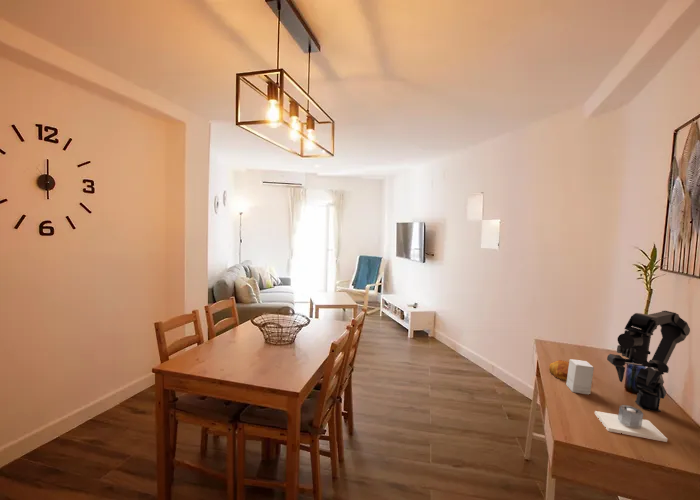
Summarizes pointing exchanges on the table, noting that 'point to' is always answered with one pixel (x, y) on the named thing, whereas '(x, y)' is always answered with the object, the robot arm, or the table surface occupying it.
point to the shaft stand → (616, 426)
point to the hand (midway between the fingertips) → (633, 383)
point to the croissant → (559, 369)
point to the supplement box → (579, 376)
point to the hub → (630, 416)
